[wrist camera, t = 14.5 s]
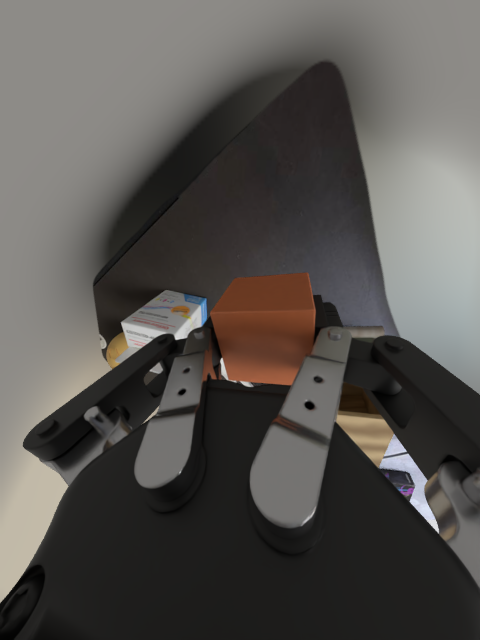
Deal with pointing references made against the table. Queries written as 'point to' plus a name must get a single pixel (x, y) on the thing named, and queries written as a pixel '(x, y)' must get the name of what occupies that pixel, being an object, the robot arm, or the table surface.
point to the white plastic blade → (223, 372)
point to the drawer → (355, 395)
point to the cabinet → (367, 433)
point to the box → (401, 482)
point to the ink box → (163, 321)
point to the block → (265, 327)
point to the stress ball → (116, 349)
